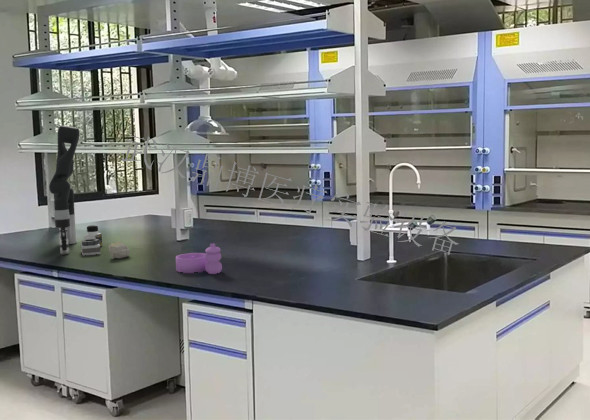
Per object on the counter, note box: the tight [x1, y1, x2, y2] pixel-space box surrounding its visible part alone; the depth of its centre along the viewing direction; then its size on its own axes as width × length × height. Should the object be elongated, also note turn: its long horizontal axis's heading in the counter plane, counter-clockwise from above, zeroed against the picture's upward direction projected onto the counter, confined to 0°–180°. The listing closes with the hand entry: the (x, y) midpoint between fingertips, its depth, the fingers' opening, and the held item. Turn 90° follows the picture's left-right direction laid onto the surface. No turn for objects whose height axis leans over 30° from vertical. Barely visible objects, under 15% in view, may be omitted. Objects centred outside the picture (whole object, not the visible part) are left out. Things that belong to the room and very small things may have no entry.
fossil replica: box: [107, 241, 130, 260], centre depth 331 cm, size 12×8×10 cm
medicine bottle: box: [83, 224, 103, 247], centre depth 368 cm, size 7×7×12 cm
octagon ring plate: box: [80, 239, 101, 257], centre depth 346 cm, size 12×9×7 cm
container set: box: [175, 243, 223, 275], centre depth 293 cm, size 25×15×13 cm, turn 51°
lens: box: [58, 238, 70, 256], centre depth 345 cm, size 5×5×8 cm
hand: (64, 249), depth 346 cm, fingers closed on lens, 4 cm apart
